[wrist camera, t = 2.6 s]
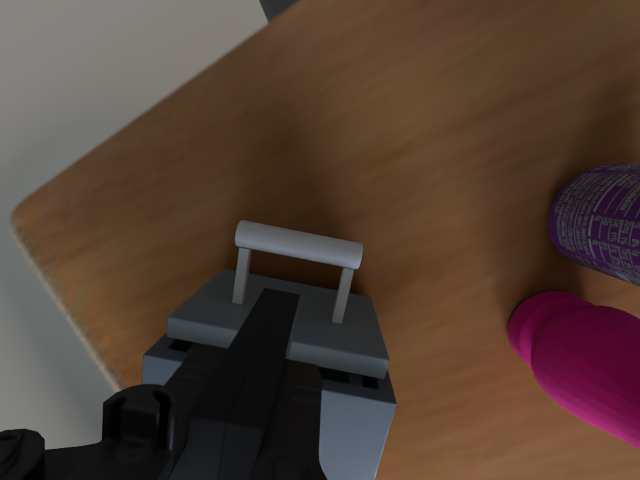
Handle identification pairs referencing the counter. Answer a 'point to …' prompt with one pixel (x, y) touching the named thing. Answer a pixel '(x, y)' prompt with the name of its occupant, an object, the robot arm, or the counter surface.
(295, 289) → the drawer
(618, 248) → the beverage can
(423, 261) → the counter surface
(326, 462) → the cabinet
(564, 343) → the pepper mill
